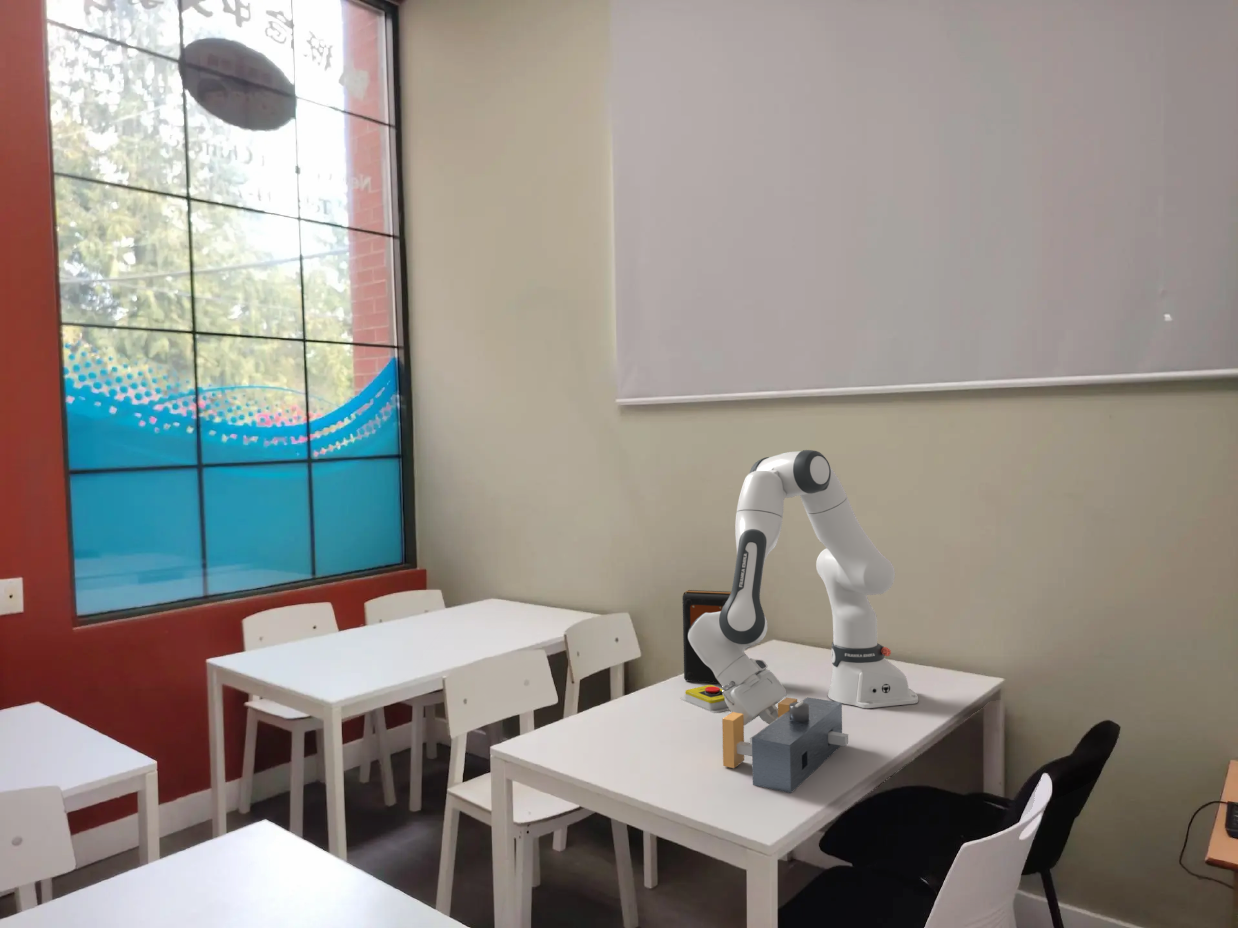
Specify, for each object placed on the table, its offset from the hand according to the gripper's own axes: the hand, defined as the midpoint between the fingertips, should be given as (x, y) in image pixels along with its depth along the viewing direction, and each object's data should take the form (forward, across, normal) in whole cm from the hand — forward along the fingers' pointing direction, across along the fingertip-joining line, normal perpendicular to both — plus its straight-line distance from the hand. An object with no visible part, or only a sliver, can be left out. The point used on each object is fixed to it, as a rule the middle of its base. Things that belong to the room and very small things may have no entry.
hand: (780, 726), depth 195 cm
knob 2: (+8, 0, -3) cm, 9 cm away
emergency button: (-16, +20, +24) cm, 35 cm away
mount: (+8, -8, -2) cm, 12 cm away
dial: (+2, -8, -9) cm, 12 cm away
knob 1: (+4, -15, +1) cm, 16 cm away
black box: (-23, +38, +30) cm, 53 cm away
